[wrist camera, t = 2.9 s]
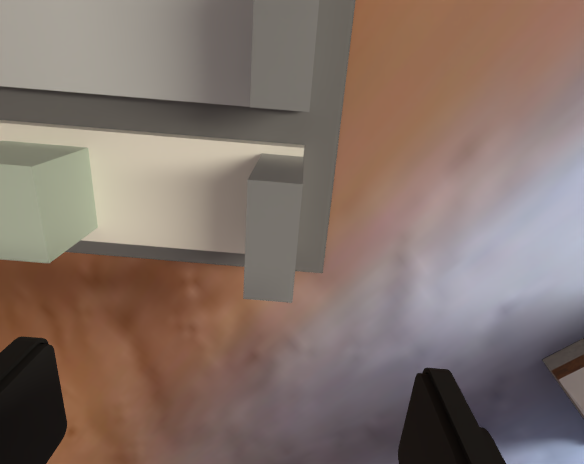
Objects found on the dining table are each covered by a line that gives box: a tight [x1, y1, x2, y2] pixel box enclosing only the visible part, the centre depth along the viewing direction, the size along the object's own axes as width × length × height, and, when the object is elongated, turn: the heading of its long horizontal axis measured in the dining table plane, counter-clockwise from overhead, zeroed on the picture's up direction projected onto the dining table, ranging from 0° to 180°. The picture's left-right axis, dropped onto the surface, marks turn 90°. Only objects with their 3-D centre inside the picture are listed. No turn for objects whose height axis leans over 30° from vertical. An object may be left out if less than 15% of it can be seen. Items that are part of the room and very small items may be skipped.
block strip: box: [0, 120, 304, 303], centre depth 21 cm, size 20×7×7 cm, turn 86°
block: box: [0, 140, 98, 263], centre depth 21 cm, size 5×5×5 cm
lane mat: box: [0, 0, 355, 273], centre depth 23 cm, size 24×19×1 cm
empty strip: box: [0, 0, 319, 112], centre depth 18 cm, size 20×7×7 cm, turn 86°
